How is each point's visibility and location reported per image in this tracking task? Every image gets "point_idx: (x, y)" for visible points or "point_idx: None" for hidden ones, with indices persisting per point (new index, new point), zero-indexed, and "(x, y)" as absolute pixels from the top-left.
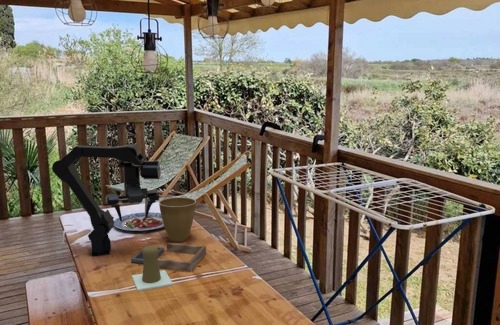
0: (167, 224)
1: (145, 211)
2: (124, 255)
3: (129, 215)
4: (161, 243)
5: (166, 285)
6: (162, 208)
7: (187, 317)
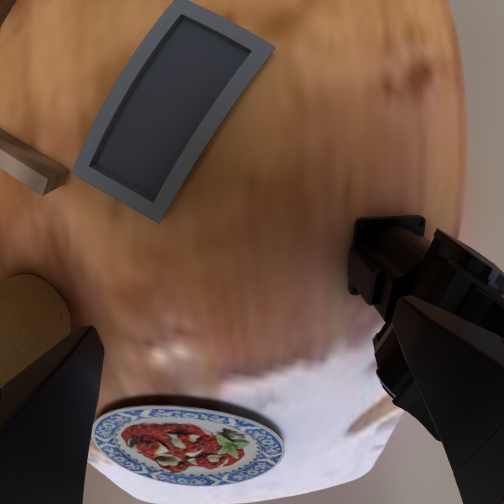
0: (23, 336)
1: (71, 407)
2: (292, 174)
3: (228, 481)
4: (97, 283)
5: None
6: None
7: None
